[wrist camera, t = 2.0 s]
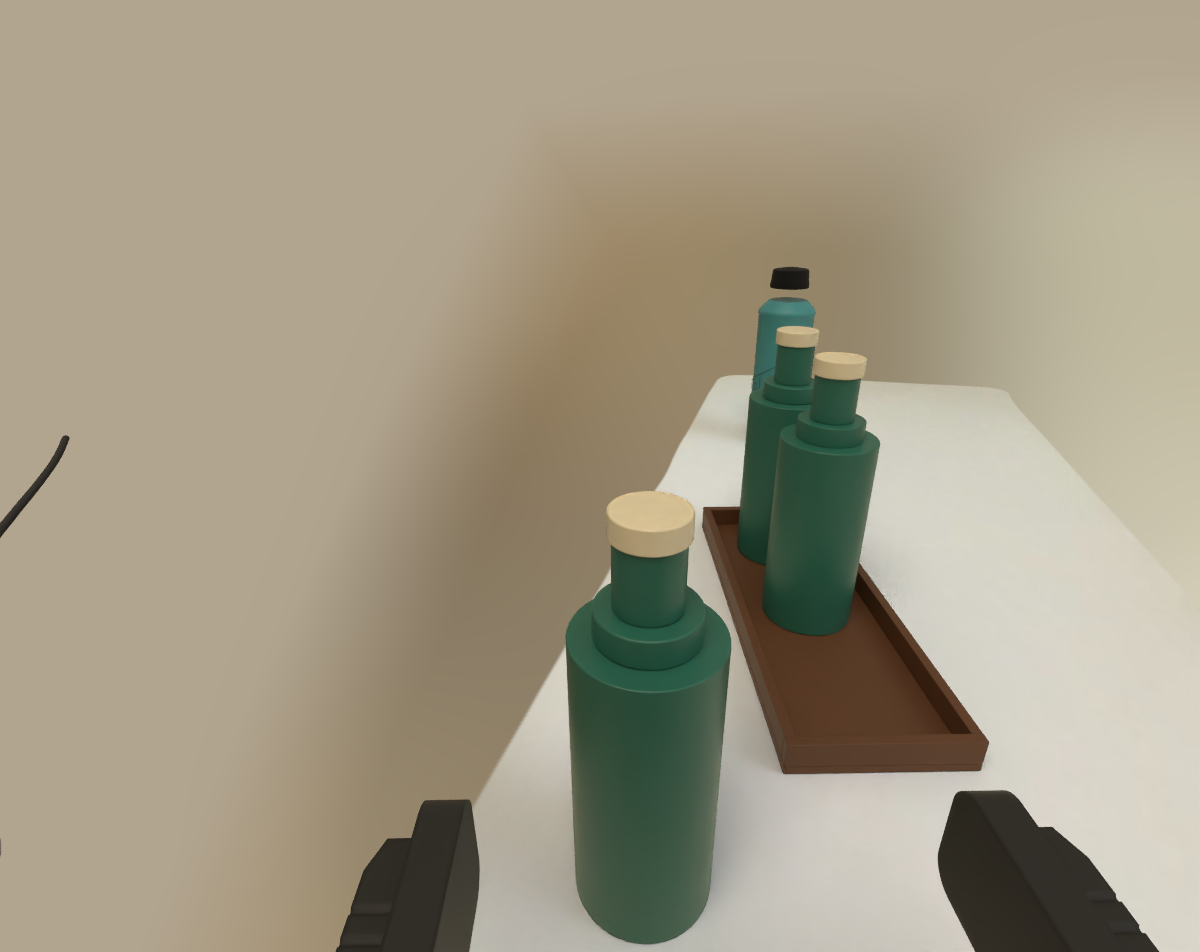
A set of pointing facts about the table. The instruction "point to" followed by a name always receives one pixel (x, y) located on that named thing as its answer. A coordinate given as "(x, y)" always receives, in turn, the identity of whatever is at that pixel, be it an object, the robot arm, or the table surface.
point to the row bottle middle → (820, 504)
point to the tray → (843, 680)
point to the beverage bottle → (780, 319)
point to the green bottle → (646, 727)
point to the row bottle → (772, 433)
